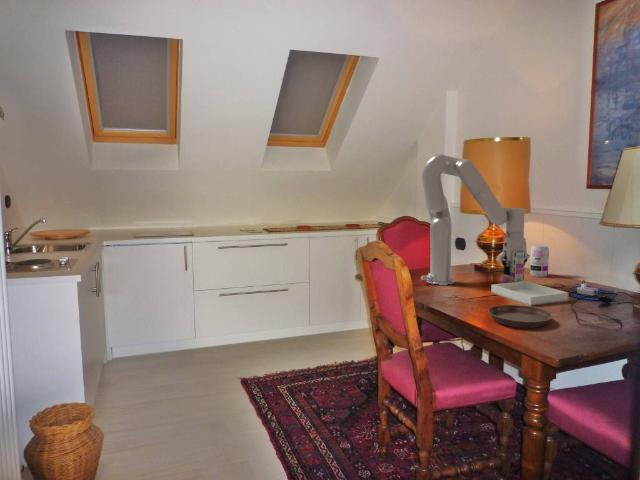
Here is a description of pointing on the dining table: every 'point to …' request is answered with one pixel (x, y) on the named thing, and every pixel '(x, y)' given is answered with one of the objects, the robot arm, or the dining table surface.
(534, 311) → the plant saucer
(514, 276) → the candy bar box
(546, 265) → the supplement can
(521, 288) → the tray
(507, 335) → the dining table surface
